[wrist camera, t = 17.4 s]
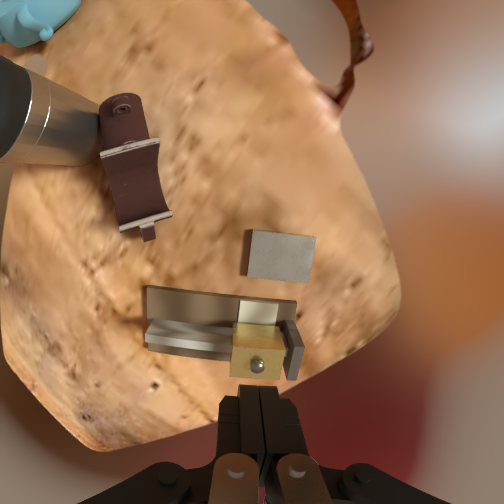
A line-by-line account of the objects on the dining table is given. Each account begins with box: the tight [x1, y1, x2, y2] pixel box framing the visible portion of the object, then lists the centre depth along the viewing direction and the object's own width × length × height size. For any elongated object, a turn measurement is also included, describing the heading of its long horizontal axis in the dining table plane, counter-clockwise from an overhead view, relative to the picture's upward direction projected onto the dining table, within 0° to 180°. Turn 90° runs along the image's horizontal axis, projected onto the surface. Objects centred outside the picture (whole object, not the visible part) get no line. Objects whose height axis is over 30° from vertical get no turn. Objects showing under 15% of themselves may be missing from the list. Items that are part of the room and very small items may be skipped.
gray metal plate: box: [247, 229, 316, 283], centre depth 37 cm, size 8×6×1 cm
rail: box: [145, 285, 305, 380], centre depth 35 cm, size 20×10×8 cm, turn 83°
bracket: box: [99, 93, 173, 242], centre depth 30 cm, size 6×17×10 cm, turn 18°
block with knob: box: [230, 323, 286, 380], centre depth 34 cm, size 6×4×7 cm
